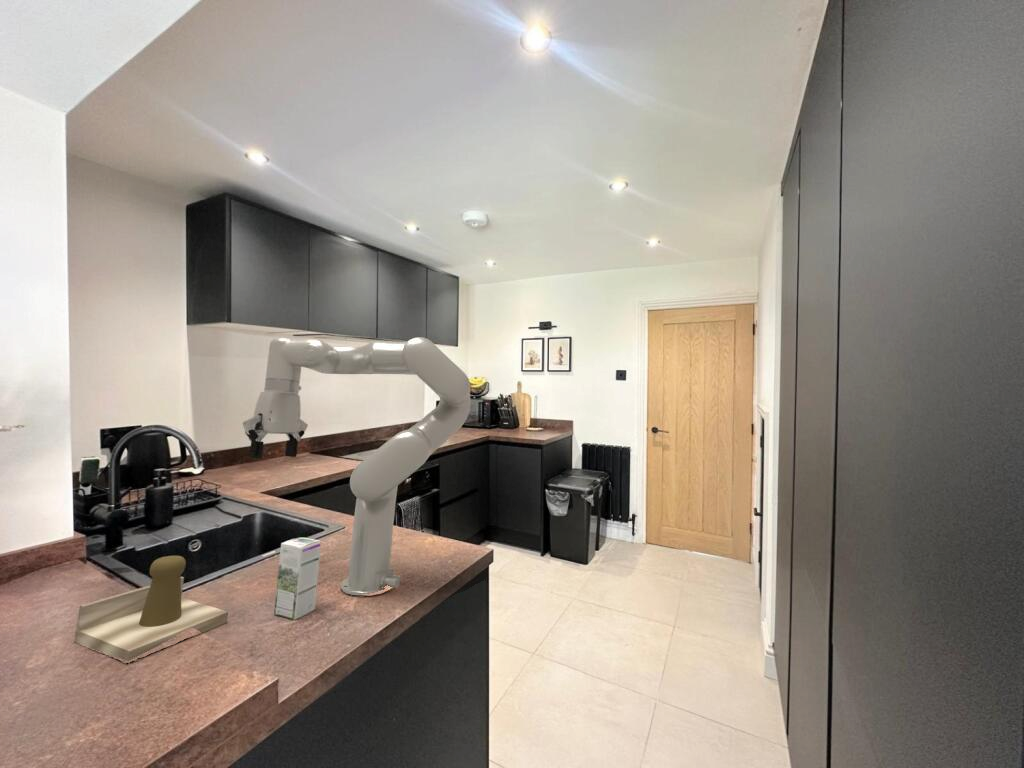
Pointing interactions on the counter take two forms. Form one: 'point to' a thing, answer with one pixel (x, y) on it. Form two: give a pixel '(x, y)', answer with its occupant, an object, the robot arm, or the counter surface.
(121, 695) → the counter surface
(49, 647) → the counter surface
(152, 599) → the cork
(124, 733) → the counter surface
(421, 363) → the robot arm
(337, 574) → the counter surface
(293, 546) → the syrup box
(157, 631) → the shelf
